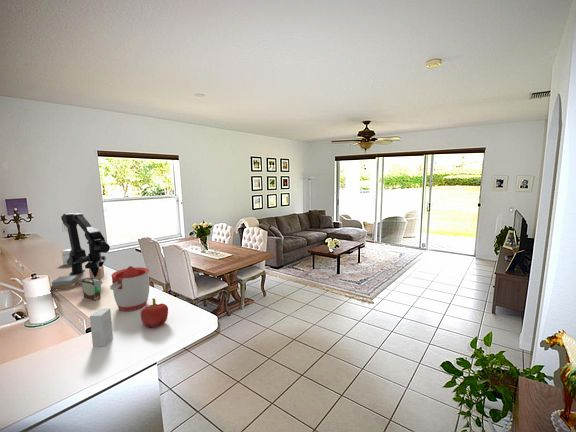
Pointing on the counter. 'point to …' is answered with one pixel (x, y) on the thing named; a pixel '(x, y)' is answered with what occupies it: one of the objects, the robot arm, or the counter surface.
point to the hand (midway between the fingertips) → (97, 275)
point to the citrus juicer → (130, 287)
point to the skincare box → (101, 327)
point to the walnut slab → (66, 286)
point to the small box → (65, 256)
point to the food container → (91, 288)
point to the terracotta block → (100, 272)
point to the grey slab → (65, 280)
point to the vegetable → (154, 314)
